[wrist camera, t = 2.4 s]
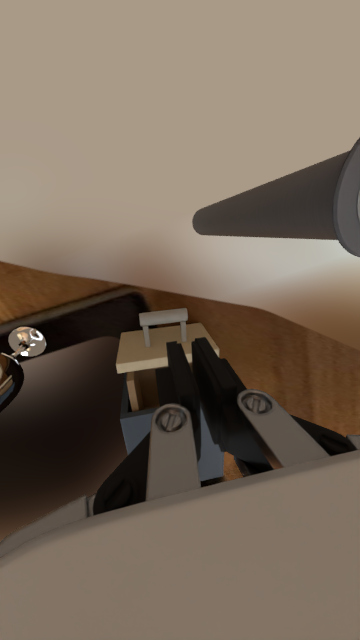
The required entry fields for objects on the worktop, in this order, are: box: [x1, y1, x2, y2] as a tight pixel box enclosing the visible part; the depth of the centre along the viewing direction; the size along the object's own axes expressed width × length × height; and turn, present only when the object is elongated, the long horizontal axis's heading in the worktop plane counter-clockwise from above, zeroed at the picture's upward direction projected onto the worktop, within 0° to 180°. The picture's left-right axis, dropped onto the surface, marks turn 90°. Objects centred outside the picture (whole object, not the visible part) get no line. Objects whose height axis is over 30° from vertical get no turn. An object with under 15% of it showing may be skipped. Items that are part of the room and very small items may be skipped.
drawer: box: [116, 308, 219, 412], centre depth 28 cm, size 18×11×8 cm, turn 3°
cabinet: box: [120, 372, 224, 481], centre depth 32 cm, size 15×13×10 cm
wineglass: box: [0, 327, 46, 412], centre depth 23 cm, size 6×6×12 cm
